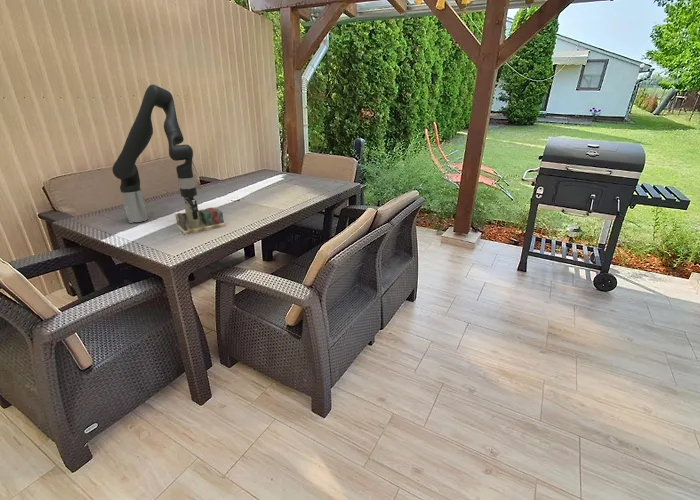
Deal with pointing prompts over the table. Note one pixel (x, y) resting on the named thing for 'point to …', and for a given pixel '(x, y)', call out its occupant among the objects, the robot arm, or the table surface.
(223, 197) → the table surface
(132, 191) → the robot arm
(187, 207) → the box
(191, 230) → the shelf
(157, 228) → the table surface
